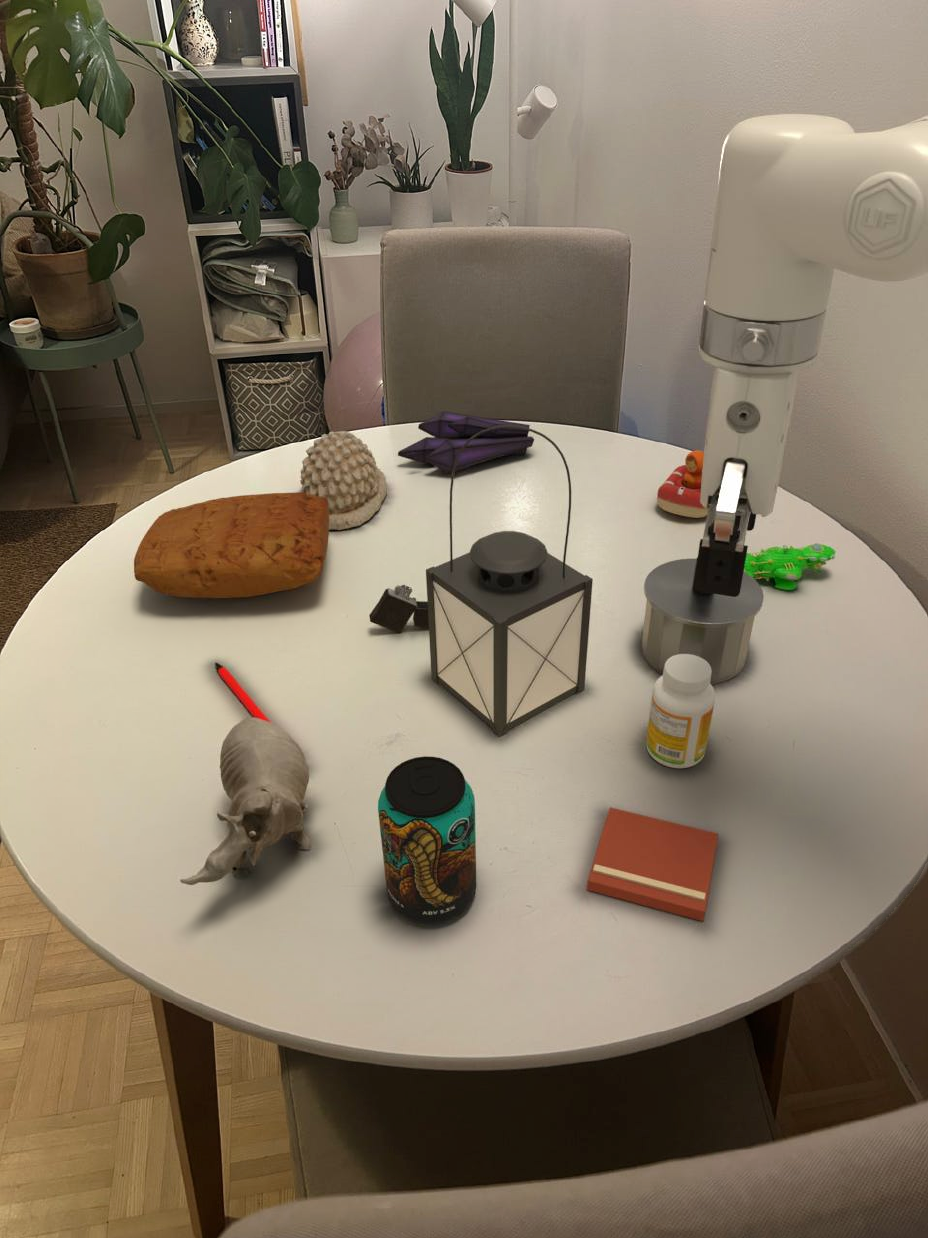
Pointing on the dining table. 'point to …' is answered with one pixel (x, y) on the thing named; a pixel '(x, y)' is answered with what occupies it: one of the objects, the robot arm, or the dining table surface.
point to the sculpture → (344, 478)
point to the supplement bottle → (681, 712)
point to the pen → (240, 692)
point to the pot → (695, 644)
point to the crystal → (457, 431)
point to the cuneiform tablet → (236, 546)
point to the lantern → (508, 624)
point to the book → (654, 863)
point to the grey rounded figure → (257, 796)
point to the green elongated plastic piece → (787, 563)
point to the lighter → (399, 610)
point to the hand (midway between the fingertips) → (725, 557)
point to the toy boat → (684, 488)
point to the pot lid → (699, 597)
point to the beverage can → (428, 839)
